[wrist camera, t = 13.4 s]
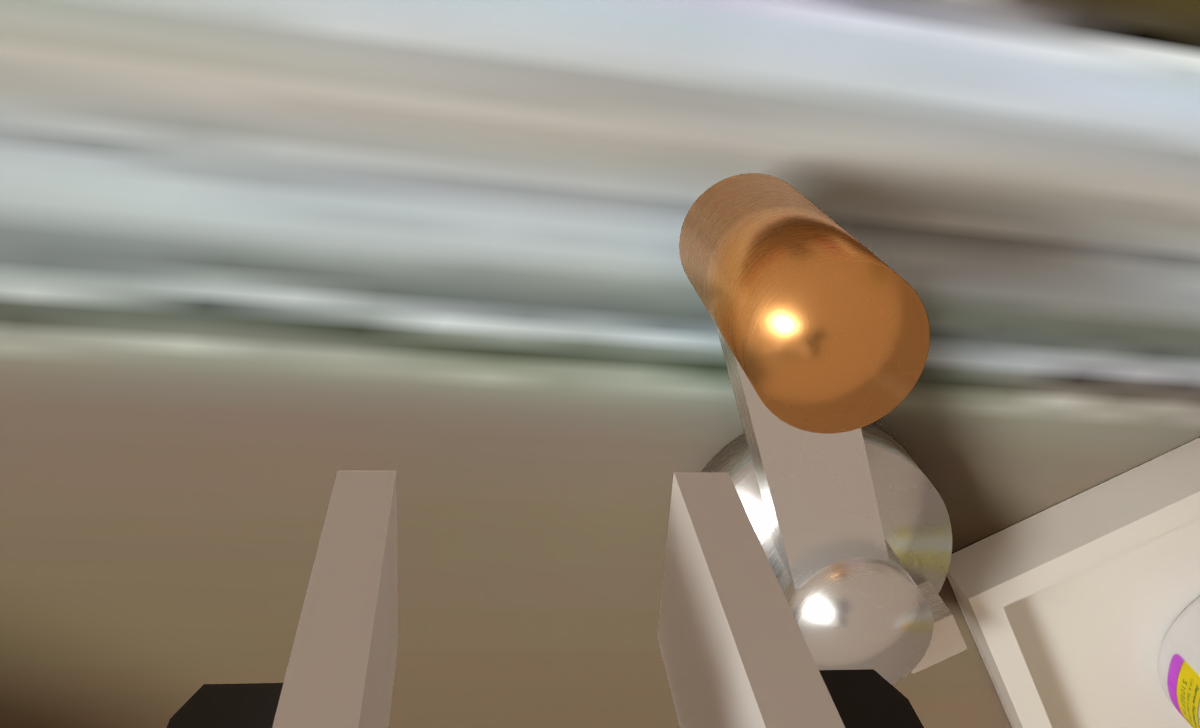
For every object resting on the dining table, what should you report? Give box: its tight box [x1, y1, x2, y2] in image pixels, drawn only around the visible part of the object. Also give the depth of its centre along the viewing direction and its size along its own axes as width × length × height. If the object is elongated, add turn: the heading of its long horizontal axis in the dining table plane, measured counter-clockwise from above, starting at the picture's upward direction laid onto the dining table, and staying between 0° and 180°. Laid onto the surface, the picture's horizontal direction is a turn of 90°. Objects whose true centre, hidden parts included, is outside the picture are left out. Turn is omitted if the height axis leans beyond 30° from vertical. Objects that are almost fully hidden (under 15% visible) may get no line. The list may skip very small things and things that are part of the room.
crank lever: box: [679, 173, 933, 685], centre depth 29 cm, size 16×4×8 cm, turn 16°
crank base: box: [702, 424, 967, 674], centre depth 36 cm, size 9×9×4 cm
